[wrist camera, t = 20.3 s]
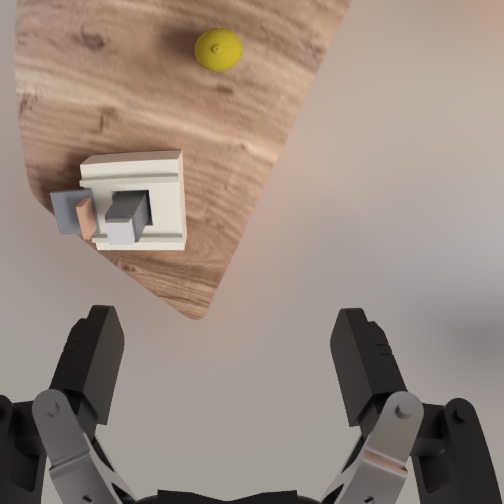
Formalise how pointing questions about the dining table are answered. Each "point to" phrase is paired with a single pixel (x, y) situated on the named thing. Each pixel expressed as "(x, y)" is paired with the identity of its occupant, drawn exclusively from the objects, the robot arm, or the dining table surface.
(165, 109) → the dining table surface
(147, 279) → the dining table surface
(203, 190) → the dining table surface
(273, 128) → the dining table surface
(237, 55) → the lemon
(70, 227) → the panel
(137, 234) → the plug
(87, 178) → the socket
